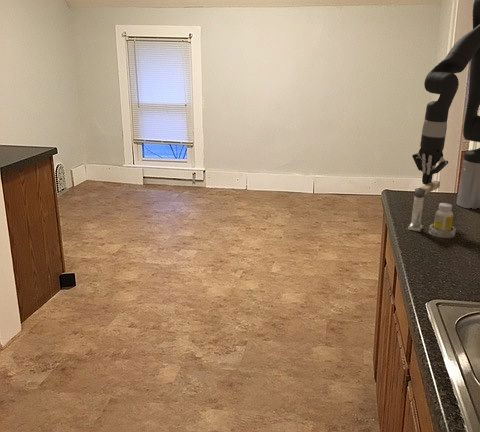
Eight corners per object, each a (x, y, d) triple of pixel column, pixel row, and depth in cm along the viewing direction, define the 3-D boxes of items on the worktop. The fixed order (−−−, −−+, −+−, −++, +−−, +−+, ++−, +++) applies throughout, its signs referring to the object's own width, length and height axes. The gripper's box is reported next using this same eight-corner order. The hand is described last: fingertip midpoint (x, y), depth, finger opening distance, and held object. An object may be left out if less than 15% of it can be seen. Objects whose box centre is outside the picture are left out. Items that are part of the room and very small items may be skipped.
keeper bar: (422, 197, 181) (422, 191, 180) (412, 195, 182) (413, 189, 182) (441, 187, 192) (441, 182, 191) (431, 185, 194) (432, 180, 193)
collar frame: (411, 224, 191) (415, 192, 187) (456, 231, 185) (461, 198, 181) (406, 231, 184) (410, 198, 180) (453, 239, 178) (458, 205, 174)
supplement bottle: (450, 231, 185) (454, 203, 181) (450, 237, 180) (455, 208, 177) (433, 229, 186) (437, 201, 183) (432, 235, 181) (436, 206, 178)
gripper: (458, 136, 183) (449, 187, 189) (423, 129, 193) (416, 178, 199) (445, 139, 179) (436, 191, 185) (410, 131, 189) (403, 181, 194)
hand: (426, 184), depth 192 cm, fingers closed
